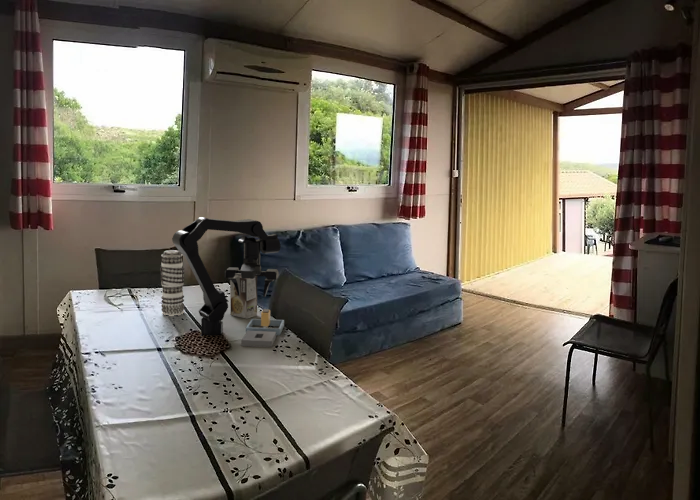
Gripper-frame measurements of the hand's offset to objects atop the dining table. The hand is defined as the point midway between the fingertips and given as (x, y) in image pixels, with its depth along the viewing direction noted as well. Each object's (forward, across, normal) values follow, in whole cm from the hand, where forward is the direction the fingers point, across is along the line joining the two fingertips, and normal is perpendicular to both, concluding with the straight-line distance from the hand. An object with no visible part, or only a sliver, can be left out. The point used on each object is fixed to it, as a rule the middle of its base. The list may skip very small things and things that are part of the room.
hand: (251, 296), depth 197 cm
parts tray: (+12, +6, -4) cm, 14 cm away
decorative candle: (+12, -34, +15) cm, 39 cm away
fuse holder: (+12, +6, -17) cm, 21 cm away
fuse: (+11, +6, -4) cm, 13 cm away
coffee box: (+12, -6, +16) cm, 21 cm away
